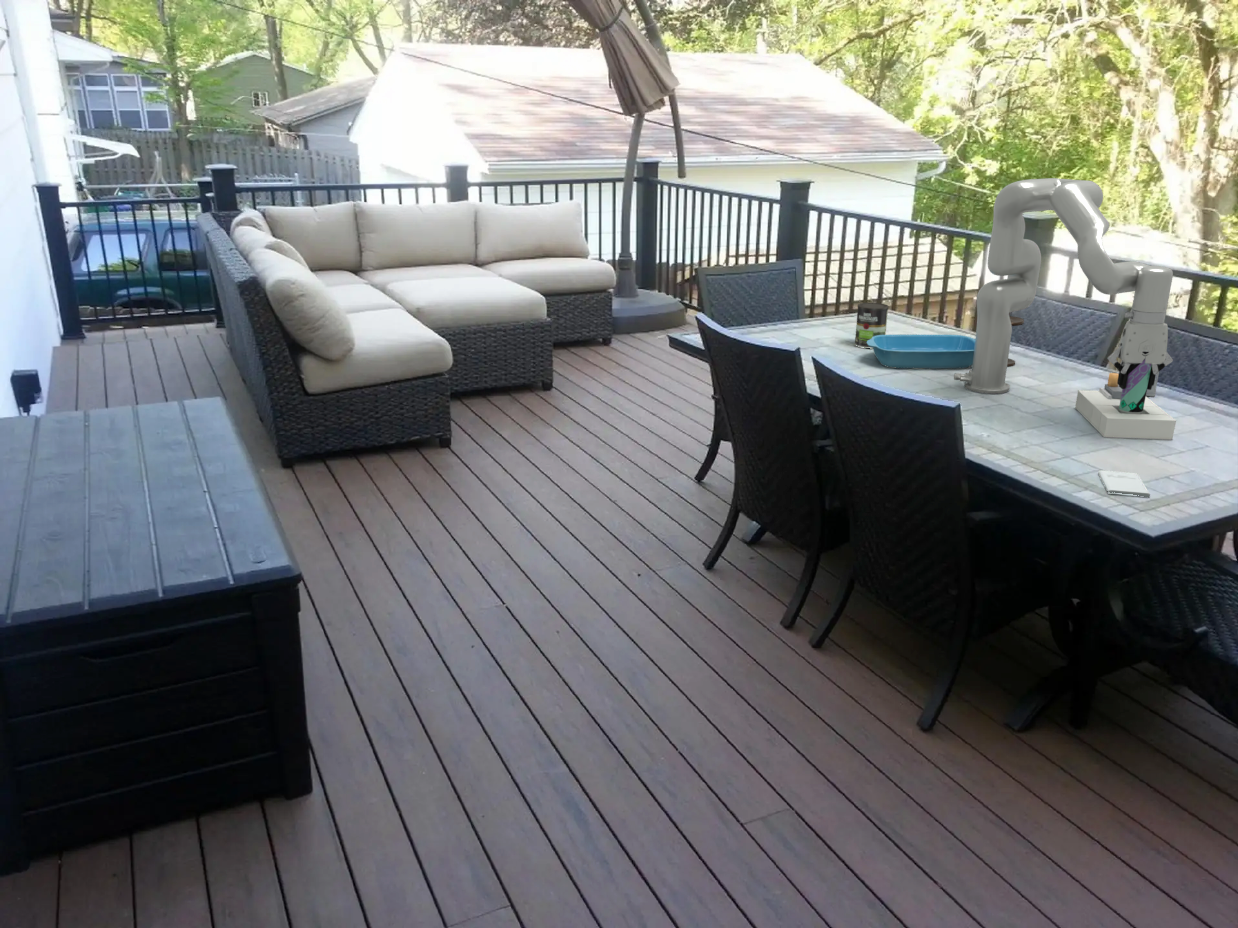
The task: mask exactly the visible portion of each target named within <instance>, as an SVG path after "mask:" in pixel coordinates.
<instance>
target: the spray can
mask: <svg viewBox="0 0 1238 928" xmlns="http://www.w3.org/2000/svg"><path fill="white" fill-rule="evenodd" d="M1142 353H1144V354H1147V353H1149V350H1143V352H1142ZM1142 355H1143V354H1142ZM1143 356H1147V355H1143ZM1145 358H1146V357H1145ZM1151 365H1152V364H1147V363H1145V359H1144V360H1143V361H1142V363H1138V364H1130V366H1129V368H1128V370H1127V374H1128V378H1127V383H1126V388H1125V389H1122V394H1121V400H1120V405H1119V412H1121V413H1124V414H1142V413H1143V408H1144V403H1145V397H1146V392H1147V387H1148V381H1149V376H1150V371H1151Z"/></svg>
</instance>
